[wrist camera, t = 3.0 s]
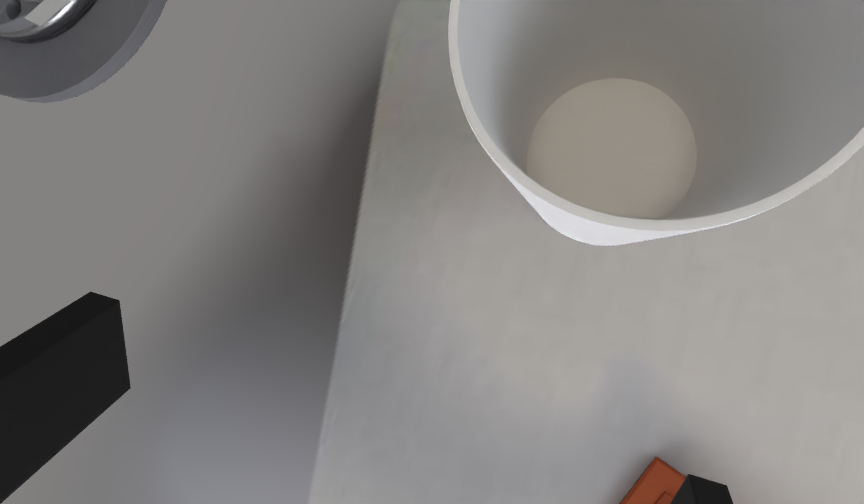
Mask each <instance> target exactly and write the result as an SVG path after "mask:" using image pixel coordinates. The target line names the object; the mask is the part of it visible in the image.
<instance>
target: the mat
mask: <svg viewBox="0 0 864 504" xmlns="http://www.w3.org/2000/svg"><path fill="white" fill-rule="evenodd" d="M685 479H686V477H685V476H684V475H683V474H681V473H680V472H678V471H677V470H675V469H674V468H673V467H671V466H670V465H668V464H667V463H666V462H664V461H663V460H661V459H660V458H658V457H655V458H654V460H653V461H652V462H651V464H650V465H649V466H648V468H647V469H646V470H645V472H644V473H643V474H642V476H641V477H640V478H639V479H638V481H637V482H636V483H635V485H634V486H633V487H632V489H631V490H630V491H629V493H628V494H627V495H626V497H625V498H624V499H623V501H622V502H621V503H620V504H670V503H671V502H672V500H673V498H674V497H675V495H676V493H677V492H678V490H679V489H680V487H681V485H682V484H683V482H684V480H685Z"/></svg>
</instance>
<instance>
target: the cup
mask: <svg viewBox="0 0 864 504" xmlns="http://www.w3.org/2000/svg"><path fill="white" fill-rule="evenodd" d="M448 42H449V55H450V64H451V70H452V74H453V79H454V83H455V87H456V90H457V93H458V96H459V99H460V102H461V105H462V108H463V111H464V113H465V116H466V118H467V120H468V122H469V125H470V127H471V129H472V130H473V132H474V134H475V136H476V137H477V139H478V141H479V142H480V144H481V146H482V147H483V148H484V150H485V151H486V152H487V154H488V155H489V156H490V158H491V159H492V160H493V162H494V163H495V164H496V165H497V166H498V168H499V169H500V170H501V171H502V172H503V173H504V175H505V176H506V177H507V178H508V179H509V180H510V182H511V183H512V184H513V185H514V186H515V187H516V188H517V190H518V191H519V192H520V193H521V194H522V195H523V197H524V198H525V199H526V200H527V201H528V202H529V203H530V205H531V206H532V207H533V208H534V209H535V210H536V211H537V213H538V214H539V215H540V216H541V217H542V218H543V219H544V220H545V221H546V222H547V223H548V224H549V225H550V226H551V227H553V228H554V229H555V230H557V231H558V232H560V233H562V234H563V235H565V236H567V237H569V238H571V239H574V240H577V241H579V242H583V243H587V244H592V245H601V246H615V245H623V244H629V243H634V242H640V241H646V240H652V239H658V238H663V237H669V236H675V235H681V234H686V233H691V232H697V231H702V230H707V229H711V228H716V227H721V226H725V225H729V224H732V223H735V222H738V221H742V220H745V219H748V218H751V217H753V216H756V215H758V214H761V213H763V212H765V211H768V210H770V209H773V208H775V207H776V206H778V205H780V204H782V203H784V202H786V201H788V200H790V199H792V198H794V197H796V196H797V195H799V194H801V193H803V192H804V191H806V190H807V189H809V188H811V187H812V186H814V185H815V184H817V183H818V182H820V181H821V180H823V179H825V178H826V177H827V176H828V175H830V174H831V173H832V172H834V171H835V170H836V169H837V168H839V167H840V166H841V165H843V164H844V163H845V162H846V161H847V160H848V159H850V158H851V157H852V156H853V155H854V154H855V153H856V152H857V151H858V150H859V149H860V148H861V147H862V146H863V145H864V0H451V4H450V10H449V25H448Z"/></svg>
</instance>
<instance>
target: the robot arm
mask: <svg viewBox="0 0 864 504" xmlns="http://www.w3.org/2000/svg"><path fill="white" fill-rule="evenodd" d="M96 1H97V0H0V38H3V39H5V40H8V41H11V42H15V43H22V44H32V43H39V42H44V41H47V40H50V39H53V38H55V37H57V36H59V35H61V34H63V33H64V32H66V31H67V30H69V29H70V28H72V27H73V26H74V25H75V24H77V23H78V22H79V21H80V20H81V19H82V18H83V17H84V16H85V15H86V14H87V13H88V11H89V10H90V9H91V8H92V7H93V5H94V4H95V3H96ZM129 389H130V380H129V372H128V364H127V356H126V349H125V341H124V333H123V325H122V318H121V309H120V302H119V300H116V299H113V298H110V297H106V296H103V295H100V294H96V293H93V292H89V293H88V294H86V295H84V296H83V297H81V298H80V299H78V300H76V301H75V302H73V303H71V304H70V305H68V306H67V307H65V308H63V309H61V310H60V311H58V312H57V313H55V314H54V315H52V316H50V317H48V318H47V319H45V320H44V321H42V322H40V323H39V324H37V325H35V326H34V327H32V328H31V329H29V330H27V331H25V332H24V333H22V334H21V335H19V336H17V337H16V338H14V339H12V340H11V341H9V342H7V343H6V344H4V345H2V346H1V347H0V503H2V502H3V501H4V500H5V499H6V498H7V497H9V496H10V495H11V494H12V493H13V492H14V491H15V490H16V489H17V488H19V487H20V486H21V485H22V484H23V483H24V482H25V481H26V480H28V479H29V478H30V477H31V476H32V475H33V474H34V473H35V472H37V471H38V470H39V469H40V468H41V467H42V466H43V465H45V464H46V463H47V462H48V461H49V460H50V459H51V458H52V457H53V456H55V455H56V454H57V453H58V452H59V451H60V450H61V449H63V447H65V446H66V445H67V444H68V443H69V442H70V441H71V440H73V438H75V437H76V436H77V435H78V434H79V433H80V432H82V431H83V430H84V429H85V428H86V427H87V426H88V425H89V424H91V423H92V422H93V421H94V420H95V419H96V418H97V417H98V416H99V415H101V414H102V413H103V412H104V411H105V410H106V409H107V408H109V407H110V406H111V405H112V404H113V403H114V402H115V401H116V400H118V399H119V398H120V397H121V396H122V395H123V394H124V393H125V392H127V391H128V390H129ZM670 504H733V502H732V499H731V496H730V493H729V490H728V487H727V486H726V485H723V484H720V483H717V482H713V481H710V480H707V479H703V478H700V477H697V476H694V475H690V474H688V476H687V477H686V479H685V480H684V482H683V484H682V485H681V487H680V489H679V490H678V492H677V493H676V495H675V497H674V498H673V500H672V502H671V503H670Z"/></svg>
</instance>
